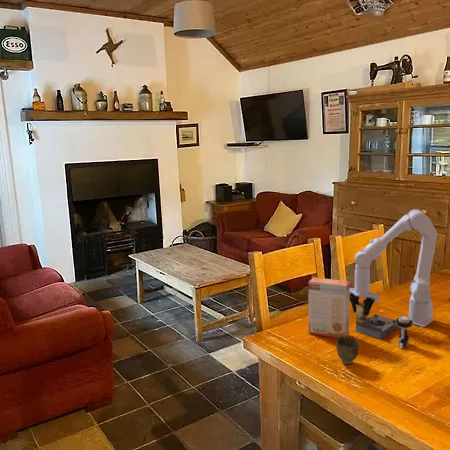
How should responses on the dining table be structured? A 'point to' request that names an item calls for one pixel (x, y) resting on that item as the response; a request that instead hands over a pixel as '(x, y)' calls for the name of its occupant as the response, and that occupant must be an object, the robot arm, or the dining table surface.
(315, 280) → the cracker box
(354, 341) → the cup
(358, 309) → the brass door knob
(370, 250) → the robot arm
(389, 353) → the dining table surface
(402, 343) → the push button
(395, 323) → the jig
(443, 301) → the dining table surface
